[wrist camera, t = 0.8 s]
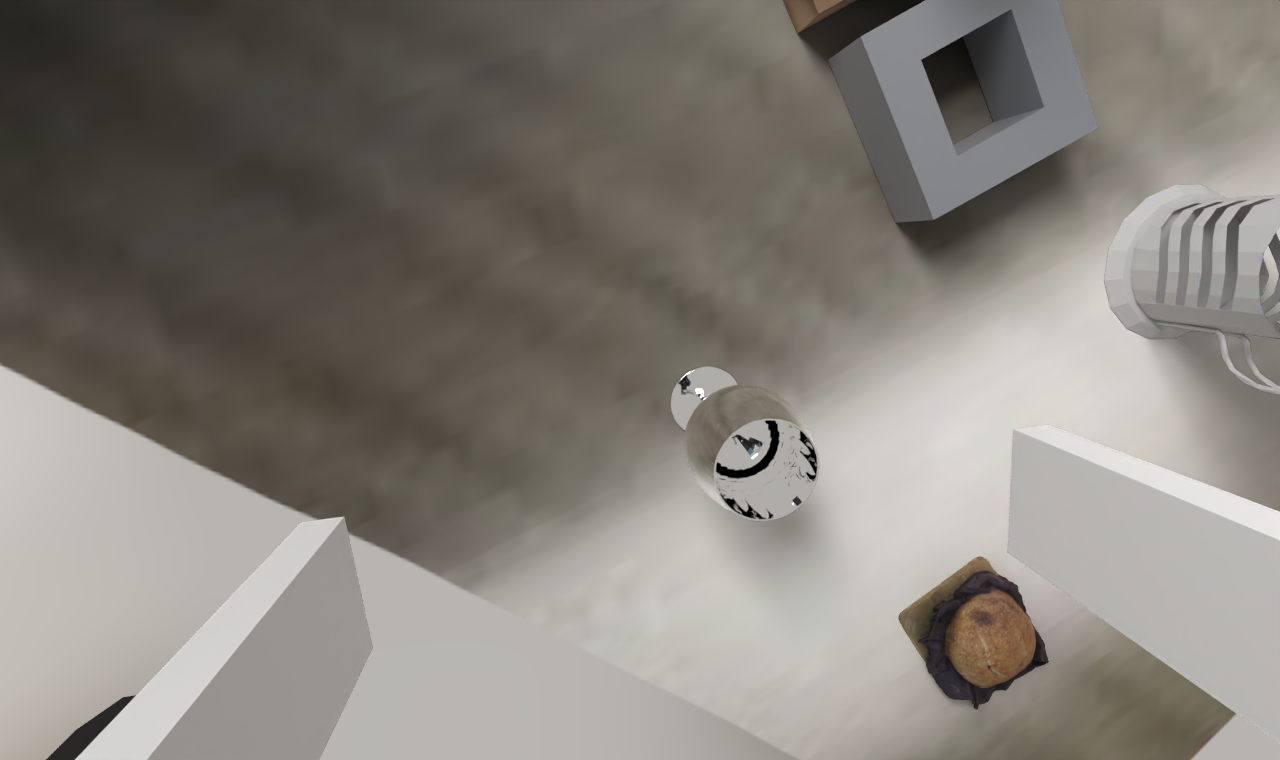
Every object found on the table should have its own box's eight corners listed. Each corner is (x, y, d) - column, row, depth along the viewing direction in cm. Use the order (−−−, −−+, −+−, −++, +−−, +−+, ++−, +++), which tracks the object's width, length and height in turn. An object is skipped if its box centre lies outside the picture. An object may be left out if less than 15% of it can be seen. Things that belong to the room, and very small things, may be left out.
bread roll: (885, 613, 44) (913, 646, 40) (984, 543, 43) (1022, 570, 40) (955, 712, 46) (988, 751, 42) (1050, 646, 46) (1091, 681, 42)
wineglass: (679, 342, 37) (729, 387, 25) (765, 372, 38) (852, 428, 26) (646, 430, 38) (680, 512, 26) (731, 457, 39) (801, 548, 27)
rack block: (828, 59, 35) (860, 36, 31) (984, -29, 35) (1037, -63, 31) (895, 222, 37) (933, 219, 33) (1042, 140, 37) (1098, 128, 33)
